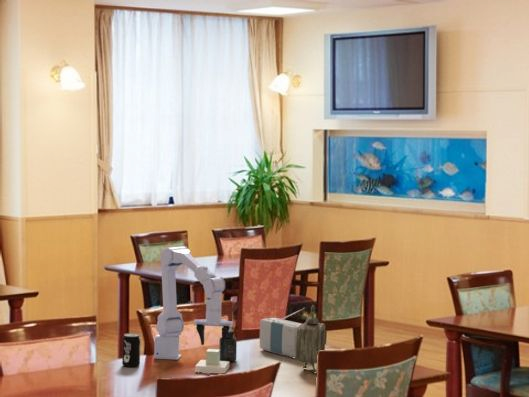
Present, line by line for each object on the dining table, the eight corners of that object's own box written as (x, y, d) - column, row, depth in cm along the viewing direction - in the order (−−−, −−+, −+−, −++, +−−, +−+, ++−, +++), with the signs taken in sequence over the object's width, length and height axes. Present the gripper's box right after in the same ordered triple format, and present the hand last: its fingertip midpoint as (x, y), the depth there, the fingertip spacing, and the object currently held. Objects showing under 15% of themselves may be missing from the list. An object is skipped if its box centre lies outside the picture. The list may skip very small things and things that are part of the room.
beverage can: (118, 366, 402) (119, 335, 401) (128, 363, 408) (129, 332, 407) (133, 368, 399) (133, 337, 398) (143, 365, 405) (143, 334, 404)
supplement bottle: (237, 359, 420) (238, 329, 419) (235, 363, 413) (236, 332, 413) (220, 358, 421) (220, 328, 420) (217, 362, 414) (218, 331, 413)
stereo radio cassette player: (258, 350, 439) (259, 302, 437) (273, 348, 444) (274, 300, 443) (293, 359, 423) (295, 309, 422) (308, 357, 429) (309, 308, 427)
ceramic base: (195, 373, 396) (195, 365, 396) (200, 367, 407) (200, 359, 407) (224, 375, 395) (224, 367, 394) (229, 369, 405) (229, 361, 405)
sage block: (205, 364, 399) (206, 351, 398) (207, 361, 403) (208, 348, 403) (217, 365, 398) (217, 351, 398) (219, 362, 403) (220, 349, 402)
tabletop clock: (318, 375, 397) (320, 308, 396) (294, 373, 399) (296, 307, 398) (324, 367, 412) (326, 302, 410) (301, 365, 413) (303, 301, 412)
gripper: (192, 310, 397) (191, 346, 398) (231, 312, 395) (230, 348, 396) (196, 306, 404) (195, 342, 405) (234, 308, 402) (233, 344, 403)
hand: (212, 345), depth 401 cm, fingers open, 7 cm apart
